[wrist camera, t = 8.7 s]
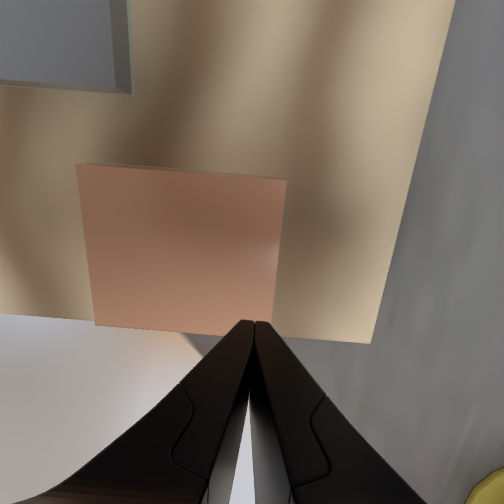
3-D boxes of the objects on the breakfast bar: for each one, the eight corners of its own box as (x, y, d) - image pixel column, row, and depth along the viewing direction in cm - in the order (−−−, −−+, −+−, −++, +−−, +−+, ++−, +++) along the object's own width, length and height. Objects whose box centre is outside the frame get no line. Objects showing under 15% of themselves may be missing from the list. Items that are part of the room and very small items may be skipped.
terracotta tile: (286, 180, 12) (75, 164, 12) (269, 339, 15) (95, 325, 15) (283, 176, 14) (98, 162, 14) (268, 320, 17) (112, 307, 17)
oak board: (488, -158, 10) (497, -170, 10) (367, 339, 17) (370, 343, 17) (-149, -201, 11) (-164, -215, 10) (-15, 308, 17) (-21, 311, 17)
